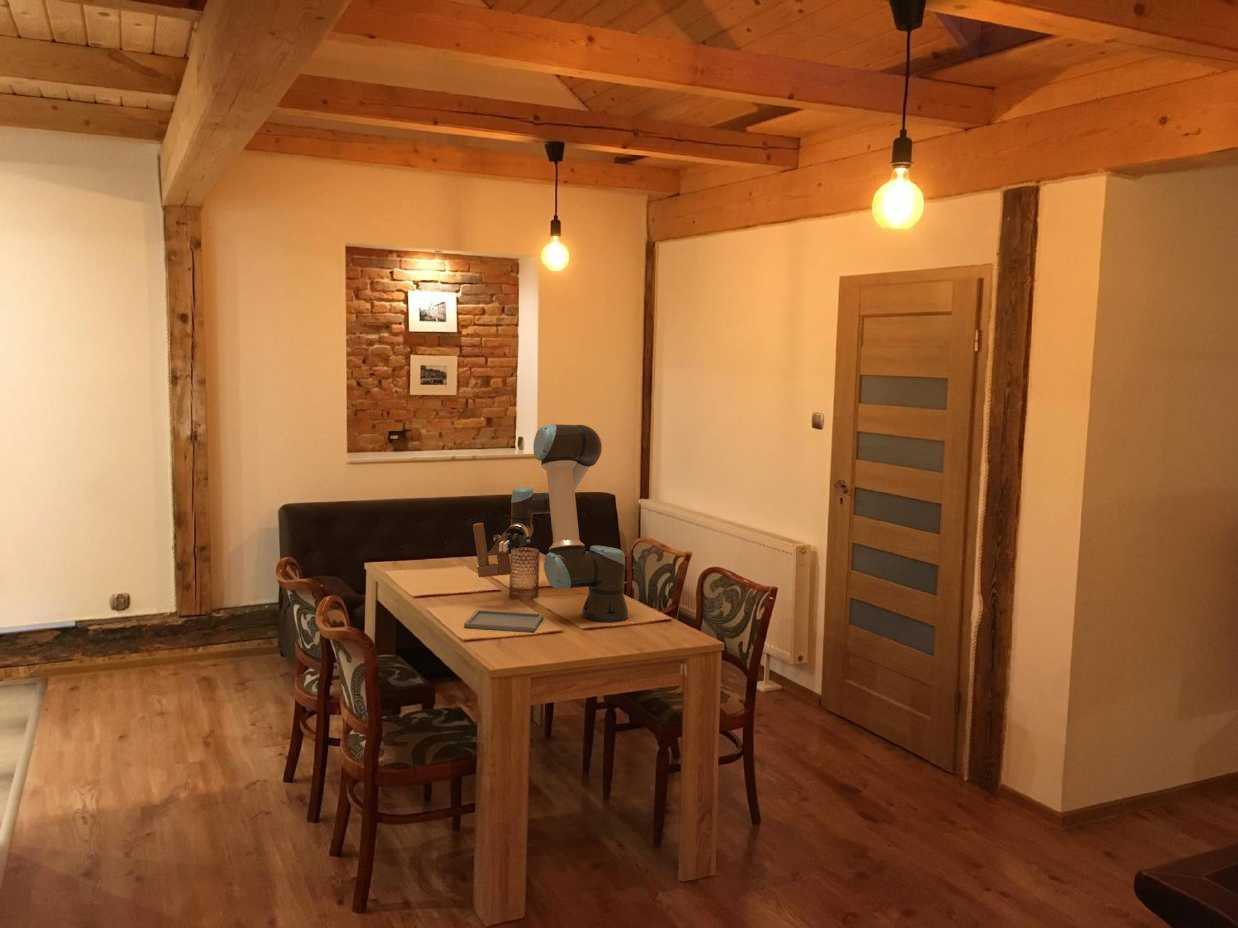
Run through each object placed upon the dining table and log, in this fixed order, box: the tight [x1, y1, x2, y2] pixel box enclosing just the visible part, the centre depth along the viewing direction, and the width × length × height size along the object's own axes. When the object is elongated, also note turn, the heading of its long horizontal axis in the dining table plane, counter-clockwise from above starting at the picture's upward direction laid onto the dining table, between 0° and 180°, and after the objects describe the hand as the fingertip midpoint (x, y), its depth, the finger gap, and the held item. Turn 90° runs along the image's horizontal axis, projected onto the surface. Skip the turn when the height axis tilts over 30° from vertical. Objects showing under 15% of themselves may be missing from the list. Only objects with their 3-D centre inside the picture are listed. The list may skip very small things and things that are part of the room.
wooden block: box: [472, 522, 512, 578], centre depth 356 cm, size 4×11×18 cm, turn 85°
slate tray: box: [463, 609, 544, 633], centre depth 338 cm, size 22×18×2 cm
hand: (502, 547), depth 349 cm, fingers closed on wooden block
